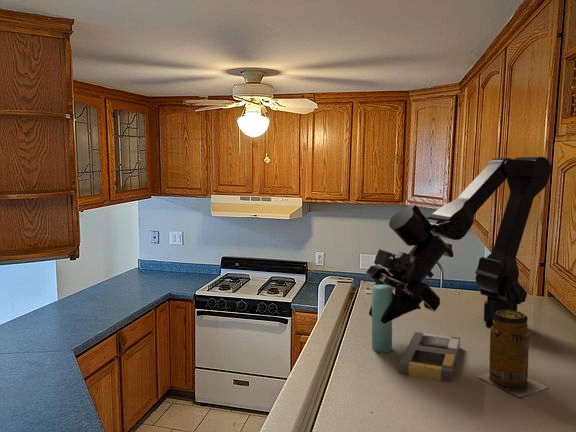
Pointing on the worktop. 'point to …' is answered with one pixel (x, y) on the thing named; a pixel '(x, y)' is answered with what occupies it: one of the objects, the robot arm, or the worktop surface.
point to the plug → (380, 330)
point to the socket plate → (430, 356)
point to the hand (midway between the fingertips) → (376, 318)
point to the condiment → (510, 354)
